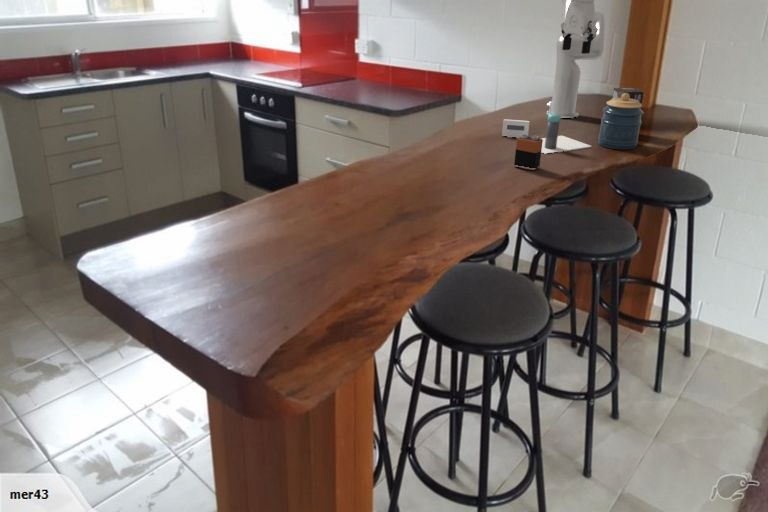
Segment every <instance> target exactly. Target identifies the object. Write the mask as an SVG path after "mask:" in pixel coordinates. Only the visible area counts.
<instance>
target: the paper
mask: <svg viewBox="0 0 768 512" xmlns="http://www.w3.org/2000/svg"><path fill="white" fill-rule="evenodd" d="M540 139H542V140H543V142H542V150H541V154H542V153H544V154H543V155H548V154H547V153H552V154H555V153H554V152H558V153H563V151H564V152H570V151H575V150H583V149H589V148H593V147H592V145H590V144H588V143H585V142H581V141H579V140H576V139H573V138H570V137H568V136H566V135H565V136H564V135H558V138H557V146H556V149H547V148H545V140H546V137H542V138H541V137H540Z"/></svg>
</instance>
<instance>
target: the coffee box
mask: <svg viewBox="0 0 768 512" xmlns="http://www.w3.org/2000/svg"><path fill="white" fill-rule="evenodd" d="M624 93H628V94H629V96H630V98H631V99H635V100H638V102H639V103H641V104H642V105H643V98H644V91H643V89H641V88H637V87H614V88H613V93H612V98H611V99H613V98H621V96H622V94H624ZM640 109H641V110H642V107H640Z"/></svg>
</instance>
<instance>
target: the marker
mask: <svg viewBox="0 0 768 512" xmlns="http://www.w3.org/2000/svg"><path fill="white" fill-rule="evenodd" d="M561 119H562V118H561V115H560V114H548V115H547V126H546V133H545V138H546V140H545V148H547V149H556V146H557V138H558V136H559V129H560V122H561Z"/></svg>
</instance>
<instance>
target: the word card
mask: <svg viewBox="0 0 768 512" xmlns="http://www.w3.org/2000/svg"><path fill="white" fill-rule="evenodd" d="M529 127H530V120H522V119H521V120H519V119H506V118H505V119H503V121H502V133H501V137H502V136H507V137H506V138H512V137H516V138H515V139H517V138H519V137H521V136H522V135H527V136H528V137H529V131H530V130H529V129H530V128H529Z"/></svg>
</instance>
